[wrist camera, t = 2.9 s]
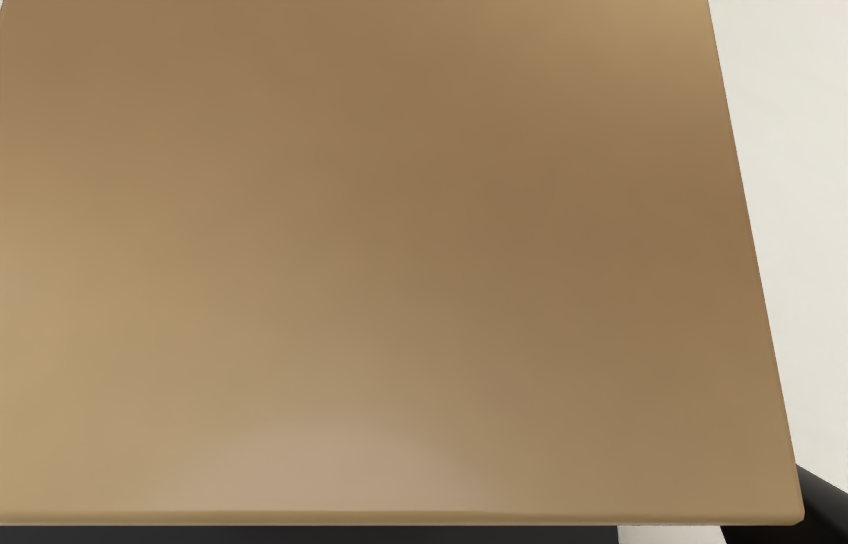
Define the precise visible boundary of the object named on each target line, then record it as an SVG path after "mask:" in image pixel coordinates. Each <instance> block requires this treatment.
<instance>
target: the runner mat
mask: <svg viewBox="0 0 848 544" xmlns="http://www.w3.org/2000/svg"><path fill="white" fill-rule="evenodd" d="M0 544H619V541H618V530H617V525H610V526H0Z"/></svg>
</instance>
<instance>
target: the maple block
mask: <svg viewBox="0 0 848 544" xmlns="http://www.w3.org/2000/svg"><path fill="white" fill-rule="evenodd" d="M804 513H805V510H804V505H803V500H802V494H801V489H800V484H799V479H798V473H797V468H796V463H795V457H794V452H793V447H792V442H791V436H790V431H789V426H788V421H787V415H786V410H785V405H784V399H783V394H782V389H781V384H780V378H779V373H778V368H777V362H776V357H775V352H774V347H773V341H772V336H771V331H770V326H769V320H768V315H767V310H766V304H765V299H764V294H763V289H762V283H761V278H760V273H759V268H758V262H757V257H756V252H755V246H754V241H753V236H752V231H751V225H750V220H749V215H748V210H747V204H746V199H745V194H744V188H743V183H742V178H741V173H740V167H739V162H738V157H737V151H736V146H735V141H734V136H733V130H732V125H731V120H730V115H729V109H728V104H727V99H726V93H725V88H724V83H723V78H722V72H721V67H720V62H719V57H718V51H717V46H716V41H715V35H714V30H713V25H712V20H711V14H710V9H709V4H708V0H3V3H2V6H1V10H0V526H610V525H795V524H796V523H798V522H800V521H802V520H804Z"/></svg>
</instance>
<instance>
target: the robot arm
mask: <svg viewBox="0 0 848 544" xmlns="http://www.w3.org/2000/svg"><path fill="white" fill-rule="evenodd" d="M796 468H797V473H798V479H799V484H800V489H801V494H802V500H803V505H804V510H805V513H804V520H802V521H800V522H798V523H796V524H795V525H720V528H721V530H722V533H723V536H724V538H725V541H726V543H727V544H848V494H847V493H845V492H844V491H842V490H840V489H838V488H837V487H835V486H833V485H832V484H830V483H828V482H826V481H825V480H823V479H821V478H819V477H818V476H816V475H814V474H812V473H811V472H809V471H807V470H805V469H804V468H802V467H800V466H798V465H797V464H796Z"/></svg>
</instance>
